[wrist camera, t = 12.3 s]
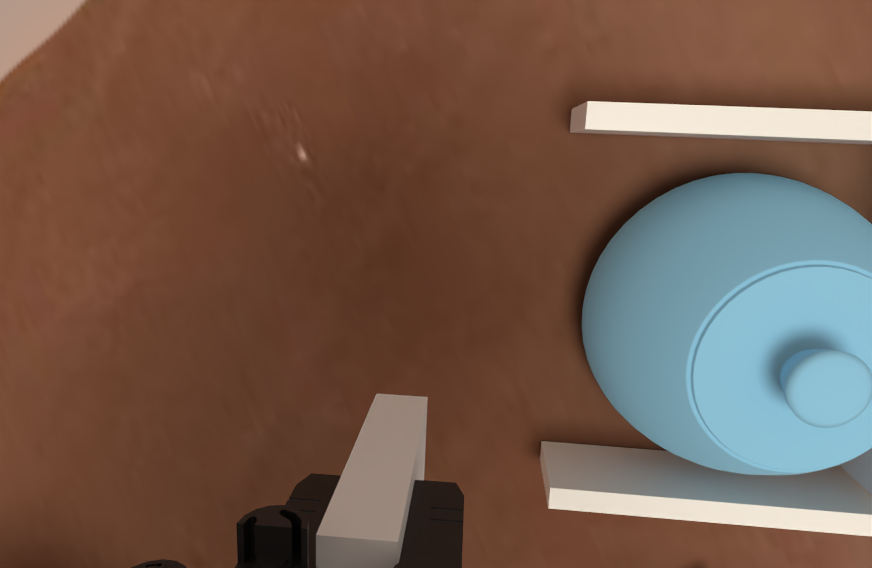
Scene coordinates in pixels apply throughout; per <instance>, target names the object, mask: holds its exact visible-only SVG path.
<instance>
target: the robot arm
mask: <svg viewBox="0 0 872 568" xmlns="http://www.w3.org/2000/svg"><path fill="white" fill-rule="evenodd" d="M427 399H428V397H420V396H405V395H391V394H376V396H375V398H374V400H373V403H372V405H371V407H370V410H369V412H368V414H367V417H366V419H365V421H364V424H363V426H362V428H361V431H360V433H359V435H358V438H357V440H356V442H355V445H354V447H353V449H352V452H351V454H350V456H349V459H348V461H347V463H346V466H345V468H344V470H343V473H342V475H341V476H337V475H324V474H310V475H309V476H307V477H306V478H305V479H303V480H302V481H301V482H299V483H298V484H297V485H296V487H295V488H294V490H293V492H292V494H291V496H290V498H289V500H288V501H287V503H286V505H277V506H267V507H263V508H259V509H256V510H254V511H252V512H250V513H248V514H246V515H245V516H244V517H243V518H242V519H241V520H240V521H239V522H238V523H237V548H238V563H237V565H236V567H235V568H462V540H463V511H464V495H463V493H462V492H461V490H460V489H459V487H458V485H457V484H456V483H451V482H437V481H424V469H425V446H426V423H427ZM132 568H186V566H184V565H183V564H181V563H179V562H177V561H172V560H163V559H162V560H155V561H148V562H145V563H142V564H140V565H137V566H134V567H132Z"/></svg>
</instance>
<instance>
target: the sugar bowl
mask: <svg viewBox="0 0 872 568" xmlns="http://www.w3.org/2000/svg"><path fill="white" fill-rule="evenodd" d="M582 335H583V344H584V348H585V353H586V357H587V360H588V363H589V365H590V368H591V371H592V373H593V375H594V377H595V379H596V381H597V382H598V384H599V386H600V388H601V389H602V391H603V393H604V394H605V396H606V397H607V399H608V400H609V401H610V403H611V404H612V405H613V407H614V408H615V409H616V410H617V411H618V412H619V413H620V414H621V415H622V416H623V417H624V418H625V419H626V420H627V421H628V422H629V423H630V424H631V425H632V426H633V427H634V428H635V429H637V430H638V431H639V432H641V433H642V434H643V435H645V436H646V437H647V438H649V439H650V440H651V441H653V442H654V443H656V444H657V445H659V446H661V447H662V448H664V449H666V450H668V451H669V452H671V453H673V454H675V455H677V456H679V457H682V458H684V459H687V460H689V461H692V462H694V463H697V464H699V465H702V466H706V467H709V468H713V469H716V470H721V471H727V472H734V473H740V474H747V475H794V474H803V473H809V472H814V471H819V470H823V469H827V468H830V467H833V466H837V465H840V464H842V463H844V462H847V461H849V460H851V459H854V458H856V457H857V456H859V455H861V454H863V453H864V452H866V451H868V450H869V449H871V448H872V224H871V223H870V222H869V221H867V220H866V219H865V218H864V217H863V216H861V215H860V214H859V213H858V212H856V211H855V210H854V209H852V208H851V207H850V206H848V205H847V204H845V203H843V202H842V201H840V200H838V199H837V198H835V197H833V196H832V195H830V194H828V193H826V192H824V191H822V190H820V189H817V188H815V187H812V186H810V185H808V184H805V183H803V182H800V181H796V180H792V179H788V178H784V177H780V176H774V175H766V174H758V173H730V174H722V175H715V176H710V177H706V178H702V179H699V180H695V181H692V182H689V183H687V184H684V185H682V186H679V187H677V188H674V189H672V190H671V191H669V192H667V193H665V194H663V195H661V196H659V197H658V198H656V199H655V200H653V201H652V202H650V203H649V204H648V205H646V206H645V207H643V208H642V209H640V210H639V211H638V212H637V213H636V214H635V215H634V216H633V217H632V218H630V219H629V220H628V221H627V222H626V223H625V224H624V225H623V226H622V227H621V228H620V230H619V231H618V232H617V233H616V234H615V235H614V237H613V238H612V239H611V240H610V242H609V243H608V245H607V246H606V248H605V249H604V251H603V252H602V254H601V255H600V257H599V259H598V261H597V263H596V265H595V267H594V269H593V271H592V274H591V277H590V280H589V283H588V286H587V289H586V292H585V297H584V303H583V308H582Z"/></svg>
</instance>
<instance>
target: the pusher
mask: <svg viewBox="0 0 872 568" xmlns="http://www.w3.org/2000/svg"><path fill="white" fill-rule="evenodd" d="M839 466H840V467H842V468H843V469H844V470H845V471H846V472H847V473H848V474H849V475H850V476H852V477H853V478H854V479H855V480H856V481H857V482H858V483H859V484H861V485H862V486H863V487H864V488H865V489H866V490H867V491H868V492H870V493H871V494H872V448H871V449H869V450H868V451H866V452H864V453H863V454H861V455H859V456H857V457H856V458H854V459H851V460H849V461H847V462H844V463H842V464H840V465H839Z"/></svg>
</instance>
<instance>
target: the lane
mask: <svg viewBox="0 0 872 568" xmlns="http://www.w3.org/2000/svg"><path fill="white" fill-rule="evenodd" d="M570 132H571V133H596V134H621V135H645V136H670V137H695V138H720V139H745V140H769V141H794V142H819V143H844V144H868V145H872V112H871V111H844V110H816V109H789V108H761V107H734V106H706V105H679V104H652V103H624V102H597V101H587V102H585V103H583V104H581V105H579V106H577V107H575V108H573V109H572V111H571V122H570ZM540 463H541V469H542V475H543V481H544V486H545V492H546V498H547V504H548V508H550V509H562V510H573V511H585V512H597V513H608V514H620V515H631V516H643V517H654V518H666V519H677V520H689V521H700V522H712V523H724V524H735V525H747V526H758V527H770V528H781V529H793V530H804V531H816V532H827V533H839V534H851V535H862V536H872V494H871V493H870V492H868V491H867V490H866V489H865V488H864V487H863V486H862V485H861V484H859V483H858V482H857V481H856V480H855V479H854V478H853V477H852V476H850V475H849V474H848V473H847V472H846V471H845V470H844V469H843V468H842V467H840V466H839V465H837V466H833V467H830V468H827V469H823V470H819V471H814V472H809V473H803V474H794V475H747V474H740V473H734V472H727V471H721V470H716V469H713V468H709V467H706V466H702V465H699V464H697V463H694V462H692V461H689V460H687V459H684V458H682V457H679V456H677V455H675V454H673V453H671V452H669V451H663V450H650V449H637V448H625V447H612V446H599V445H586V444H574V443H561V442H548V441H541V451H540Z"/></svg>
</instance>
